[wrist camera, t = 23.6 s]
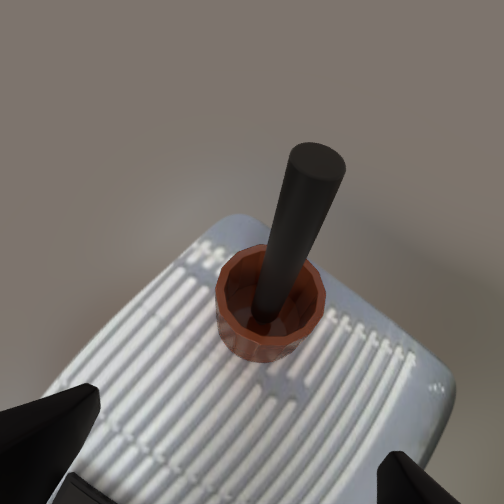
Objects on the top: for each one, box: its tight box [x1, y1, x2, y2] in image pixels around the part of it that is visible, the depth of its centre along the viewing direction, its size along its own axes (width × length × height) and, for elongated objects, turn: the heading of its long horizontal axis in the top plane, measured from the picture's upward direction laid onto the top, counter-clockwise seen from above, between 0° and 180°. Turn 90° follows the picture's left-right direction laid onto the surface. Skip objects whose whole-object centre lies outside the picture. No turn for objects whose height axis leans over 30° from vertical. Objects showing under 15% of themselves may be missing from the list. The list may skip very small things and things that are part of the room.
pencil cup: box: [215, 244, 326, 363], centre depth 19 cm, size 6×6×5 cm
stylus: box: [251, 142, 346, 325], centre depth 15 cm, size 2×2×14 cm
